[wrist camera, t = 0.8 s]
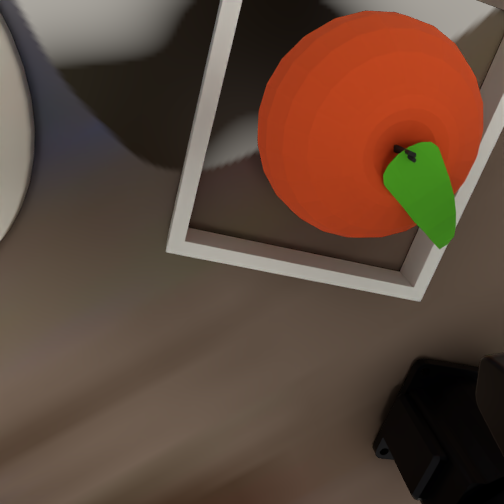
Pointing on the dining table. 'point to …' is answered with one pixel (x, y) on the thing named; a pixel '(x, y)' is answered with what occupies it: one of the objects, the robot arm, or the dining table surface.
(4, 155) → the cream plate
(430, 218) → the clementine
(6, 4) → the dining table surface
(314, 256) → the white flat square frame
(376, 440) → the robot arm
